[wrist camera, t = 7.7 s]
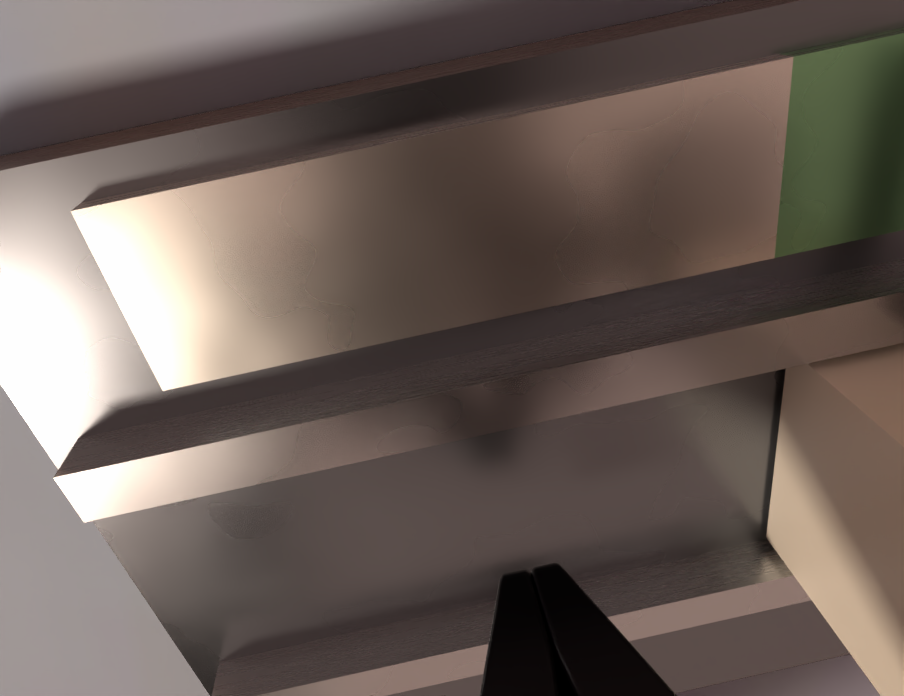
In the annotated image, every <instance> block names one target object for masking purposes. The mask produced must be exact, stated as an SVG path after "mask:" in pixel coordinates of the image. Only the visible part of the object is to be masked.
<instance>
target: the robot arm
mask: <svg viewBox="0 0 904 696" xmlns="http://www.w3.org/2000/svg"><path fill="white" fill-rule="evenodd" d="M480 696H677V695H676V694H675V692H674V691H673V690H672V689H671V688H670V687H669V686H668V685H667V684H666V682H665V681H664V680H663V679H662V678H661V677H660V676H659V675H658V673H657V672H656V671H655V670H654V669H653V668H652V667H651V666H650V664H649V663H648V662H647V661H646V660H645V659H644V658H643V657H642V655H641V654H640V653H639V652H638V651H637V650H636V649H635V648H634V647H633V645H632V644H631V643H630V642H629V641H628V640H627V639H626V638H625V636H624V635H623V634H622V633H621V632H620V631H619V630H618V629H617V627H616V626H615V625H614V624H613V623H612V622H611V621H610V620H609V619H608V617H607V616H606V615H605V614H604V613H603V612H602V611H601V610H600V608H599V607H598V606H597V605H596V604H595V603H594V602H593V601H592V599H591V598H590V597H589V596H588V595H587V594H586V593H585V592H584V590H583V589H582V588H581V587H580V586H579V585H578V584H577V583H576V582H575V580H574V579H573V578H572V577H571V576H570V575H569V574H568V573H567V571H566V570H565V569H564V568H563V567H562V566H561V565H559V564H558V563H551V564H546V565H542V566H537V567H534V568H532V569H531V571H530V572H529V571H527V570H519V571H515V572H510V573H506V574H503V575H502V576H501V577H500V580H499V585H498V590H497V596H496V602H495V608H494V614H493V620H492V626H491V632H490V637H489V643H488V649H487V655H486V661H485V667H484V673H483V678H482V684H481V690H480Z"/></svg>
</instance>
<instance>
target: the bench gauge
mask: <svg viewBox="0 0 904 696" xmlns="http://www.w3.org/2000/svg"><path fill="white" fill-rule="evenodd" d="M899 343H904V0H733V1H728V2H723V3H718V4H714V5H709V6H704V7H700V8H695V9H690V10H685V11H681V12H676V13H671V14H667V15H662V16H657V17H652V18H648V19H643V20H638V21H634V22H629V23H624V24H620V25H615V26H610V27H605V28H601V29H596V30H591V31H587V32H582V33H577V34H572V35H568V36H563V37H558V38H554V39H549V40H544V41H539V42H535V43H530V44H525V45H521V46H516V47H511V48H506V49H502V50H497V51H492V52H488V53H483V54H478V55H474V56H469V57H464V58H459V59H455V60H450V61H445V62H441V63H436V64H431V65H426V66H422V67H417V68H412V69H408V70H403V71H398V72H393V73H389V74H384V75H379V76H375V77H370V78H365V79H360V80H356V81H351V82H346V83H342V84H337V85H332V86H327V87H323V88H318V89H313V90H309V91H304V92H299V93H295V94H290V95H285V96H280V97H276V98H271V99H266V100H262V101H257V102H252V103H247V104H243V105H238V106H233V107H229V108H224V109H219V110H214V111H210V112H205V113H200V114H196V115H191V116H186V117H181V118H177V119H172V120H167V121H163V122H158V123H153V124H149V125H144V126H139V127H134V128H130V129H125V130H120V131H116V132H111V133H106V134H101V135H97V136H92V137H87V138H83V139H78V140H73V141H68V142H64V143H59V144H54V145H50V146H45V147H40V148H35V149H31V150H26V151H21V152H17V153H12V154H7V155H3V156H0V384H1V385H2V387H3V388H4V390H5V391H6V393H7V394H8V396H9V397H10V399H11V400H12V402H13V403H14V405H15V406H16V408H17V409H18V411H19V412H20V414H21V415H22V417H23V418H24V420H25V421H26V423H27V424H28V426H29V427H30V428H31V430H32V431H33V433H34V434H35V436H36V437H37V439H38V440H39V442H40V443H41V445H42V446H43V448H44V449H45V451H46V452H47V454H48V455H49V457H50V458H51V460H52V461H53V463H54V464H55V466H56V467H57V469H58V471H57V473H56V474H55V476H54V479H55V481H56V482H57V484H58V485H59V487H60V488H61V490H62V491H63V493H64V494H65V496H66V497H67V498H68V500H69V501H70V503H71V504H72V506H73V507H74V509H75V510H76V512H77V513H78V515H79V516H80V517H81V519H82V520H83V522H89V521H93V522H94V524H95V525H96V527H97V528H98V530H99V531H100V533H101V534H102V536H103V537H104V539H105V540H106V542H107V543H108V544H109V546H110V547H111V549H112V550H113V552H114V553H115V555H116V556H117V558H118V559H119V561H120V562H121V564H122V565H123V567H124V568H125V570H126V571H127V573H128V574H129V576H130V577H131V579H132V580H133V582H134V583H135V585H136V586H137V588H138V589H139V591H140V592H141V594H142V595H143V597H144V598H145V600H146V601H147V602H148V604H149V605H150V607H151V608H152V610H153V611H154V613H155V614H156V616H157V617H158V619H159V620H160V622H161V623H162V625H163V626H164V628H165V629H166V631H167V632H168V634H169V635H170V637H171V638H172V640H173V641H174V643H175V644H176V646H177V647H178V649H179V650H180V652H181V653H182V655H183V656H184V658H185V659H186V661H187V662H188V663H189V665H190V666H191V668H192V669H193V671H194V672H195V674H196V675H197V677H198V678H199V680H200V681H201V683H202V684H203V686H204V687H205V689H206V690H207V692H208V693H209V695H210V696H480V690H481V684H482V678H483V673H484V667H485V661H486V655H487V649H488V643H489V637H490V632H491V626H492V620H493V614H494V608H495V602H496V596H497V590H498V585H499V580H500V577H501V576H502V575H503V574H506V573H510V572H515V571H519V570H527V571H529V572H530V571H531V569H532V568H534V567H537V566H542V565H546V564H551V563H558V564H559V565H561V566H562V567H563V568H564V569H565V570H566V571H567V573H568V574H569V575H570V576H571V577H572V578H573V579H574V580H575V582H576V583H577V584H578V585H579V586H580V587H581V588H582V589H583V590H584V592H585V593H586V594H587V595H588V596H589V597H590V598H591V599H592V601H593V602H594V603H595V604H596V605H597V606H598V607H599V608H600V610H601V611H602V612H603V613H604V614H605V615H606V616H607V617H608V619H609V620H610V621H611V622H612V623H613V624H614V625H615V626H616V627H617V629H618V630H619V631H620V632H621V633H622V634H623V635H624V636H625V638H626V639H627V640H628V641H629V642H630V643H631V644H632V645H633V647H634V648H635V649H636V650H637V651H638V652H639V653H640V654H641V655H642V657H643V658H644V659H645V660H646V661H647V662H648V663H649V664H650V666H651V667H652V668H653V669H654V670H655V671H656V672H657V673H658V675H659V676H660V677H661V678H662V679H663V680H664V681H665V682H666V684H667V685H668V686H669V687H670V688H671V689H672V690H673V691H674V692H675V693H680V692H684V691H688V690H693V689H697V688H702V687H706V686H711V685H715V684H719V683H724V682H728V681H733V680H737V679H742V678H746V677H751V676H755V675H759V674H764V673H768V672H773V671H777V670H782V669H786V668H791V667H795V666H799V665H804V664H808V663H813V662H817V661H822V660H826V659H830V658H835V657H839V656H844V655H848V654H850V653H849V651H848V650H847V649H846V647H845V646H844V644H843V643H842V642H841V640H840V639H839V637H838V636H837V635H836V633H835V632H834V631H833V629H832V628H831V626H830V625H829V624H828V622H827V621H826V619H825V618H824V617H823V615H822V614H821V613H820V611H819V610H818V608H817V607H816V606H815V604H814V603H813V602H812V600H811V599H810V597H809V596H808V595H807V593H806V592H805V590H804V589H803V588H802V586H801V585H800V584H799V582H798V581H797V579H796V578H795V577H794V575H793V574H792V572H791V571H790V570H789V568H788V567H787V566H786V564H785V563H784V561H783V560H782V559H781V557H780V556H779V555H778V553H777V552H776V550H775V549H774V548H773V546H772V545H771V543H770V542H769V541H768V539H767V538H766V534H767V525H768V517H769V508H770V499H771V491H772V482H773V474H774V465H775V456H776V448H777V439H778V430H779V422H780V413H781V404H782V396H783V387H784V379H785V370H786V368H790V367H795V366H799V365H804V364H808V363H813V362H817V361H822V360H826V359H831V358H836V357H840V356H845V355H849V354H854V353H858V352H863V351H867V350H872V349H877V348H881V347H886V346H890V345H895V344H899Z"/></svg>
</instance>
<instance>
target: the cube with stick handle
mask: <svg viewBox="0 0 904 696" xmlns="http://www.w3.org/2000/svg"><path fill="white" fill-rule="evenodd" d="M766 538H767V539H768V541H769V542H770V543H771V545H772V546H773V548H774V549H775V550H776V552H777V553H778V555H779V556H780V557H781V559H782V560H783V561H784V563H785V564H786V566H787V567H788V568H789V570H790V571H791V572H792V574H793V575H794V577H795V578H796V579H797V581H798V582H799V584H800V585H801V586H802V588H803V589H804V590H805V592H806V593H807V595H808V596H809V597H810V599H811V600H812V602H813V603H814V604H815V606H816V607H817V608H818V610H819V611H820V613H821V614H822V615H823V617H824V618H825V619H826V621H827V622H828V624H829V625H830V626H831V628H832V629H833V631H834V632H835V633H836V635H837V636H838V637H839V639H840V640H841V642H842V643H843V644H844V646H845V647H846V649H847V650H848V651H849V653H850V654H851V655H852V657H853V658H854V660H855V661H856V662H857V664H858V665H859V667H860V668H861V669H862V671H863V672H864V673H865V675H866V676H867V678H868V679H869V680H870V682H871V683H872V684H873V686H874V687H875V689H876V690H877V691H878V693H879V694H880V696H904V343H899V344H895V345H890V346H886V347H881V348H877V349H872V350H867V351H863V352H858V353H854V354H849V355H845V356H840V357H836V358H831V359H826V360H822V361H817V362H813V363H808V364H804V365H799V366H795V367H790V368H786V370H785V379H784V387H783V396H782V404H781V413H780V422H779V430H778V439H777V448H776V456H775V465H774V474H773V482H772V491H771V499H770V508H769V517H768V525H767V534H766Z"/></svg>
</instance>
